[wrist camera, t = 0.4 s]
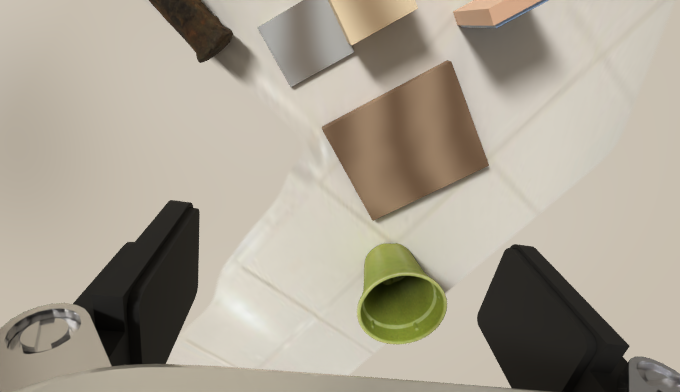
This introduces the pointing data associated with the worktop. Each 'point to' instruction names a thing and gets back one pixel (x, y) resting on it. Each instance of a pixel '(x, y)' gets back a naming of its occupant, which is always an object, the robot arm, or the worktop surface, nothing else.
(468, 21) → the tile
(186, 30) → the hand tool
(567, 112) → the worktop surface
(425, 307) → the plant pot
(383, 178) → the board
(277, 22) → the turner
